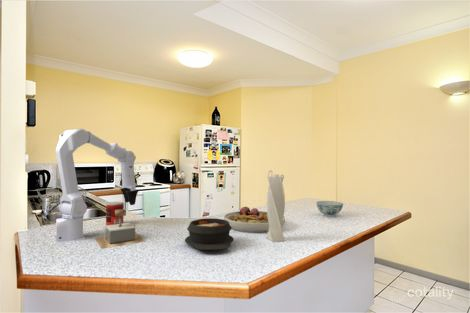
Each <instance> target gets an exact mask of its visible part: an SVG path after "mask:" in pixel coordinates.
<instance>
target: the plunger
mask: <svg viewBox="0 0 470 313" xmlns="http://www.w3.org/2000/svg"><path fill="white" fill-rule="evenodd" d="M115 216H119V227H122V216H123V217H125V216H127V209H119V210H115Z"/></svg>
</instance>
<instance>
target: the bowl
mask: <svg viewBox="0 0 470 313" xmlns="http://www.w3.org/2000/svg"><path fill="white" fill-rule="evenodd" d="M223 220H226V221H228V222H229V224H230V226H231V227H232V229H231V230H234V231H238V232H244V233H255V234H257V233H259V234H260V233H268V231H269V222H268V216H267V211H263V210H262V211H259V210H258V208H255V207H254V208H252V209H250V208H249V207H248V206H243V207H241V208H240V209H239V211H232V212H229V213H226V214H224V215H223ZM285 222H286V217H285V216H284V217H283V222H282V226H281V228H283V227H284V225H285Z"/></svg>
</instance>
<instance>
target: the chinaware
mask: <svg viewBox="0 0 470 313" xmlns="http://www.w3.org/2000/svg"><path fill="white" fill-rule="evenodd" d="M315 203H316V207H317V209H318V211H319V212H320V213H321V214H323V216H324V217H328V218H334V217H335V218H336V215H338V214H340V212H341V211H342V209H343V206H344V202H340V201H333V200H318V201H316V202H315Z"/></svg>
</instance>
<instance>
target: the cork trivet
mask: <svg viewBox="0 0 470 313" xmlns="http://www.w3.org/2000/svg"><path fill="white" fill-rule="evenodd" d="M94 240H95V242H96V243H97V245H98V246H99V248H100V249H101V250H104V249H110V248H115V247H119V246H120V247H121V246H122V247H123V246H127V245H132V244H133V245H134V244H138V243H145V242H147V240H146V238H143V236H141V235H140V234H139V233H137V232H136V231H135V241H129V242H122V243H116V244H109V243H108V241H107V240H106V239H105V236H98V237H94Z"/></svg>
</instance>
